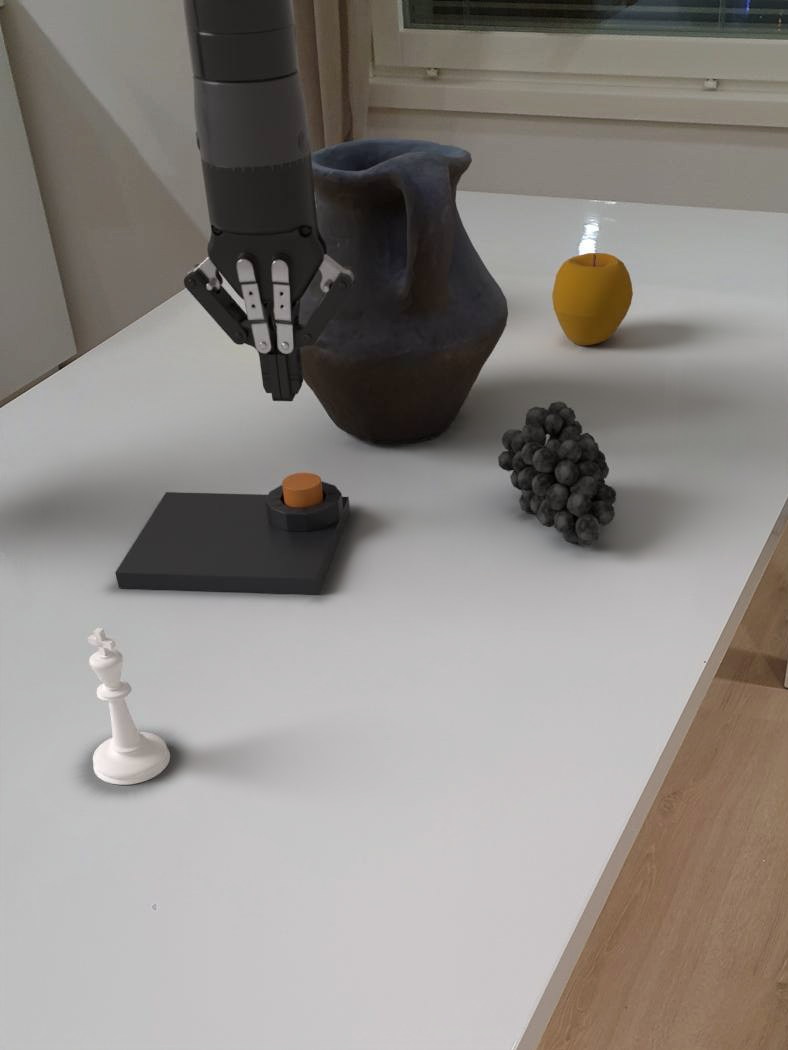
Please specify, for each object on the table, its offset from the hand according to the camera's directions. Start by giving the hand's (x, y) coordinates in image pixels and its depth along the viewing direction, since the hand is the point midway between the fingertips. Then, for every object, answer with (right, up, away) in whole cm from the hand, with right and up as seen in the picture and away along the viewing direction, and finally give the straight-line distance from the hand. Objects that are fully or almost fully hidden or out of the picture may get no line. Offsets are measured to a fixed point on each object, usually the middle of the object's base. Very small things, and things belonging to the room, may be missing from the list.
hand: (284, 397), depth 99 cm
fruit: (+22, -8, +9) cm, 25 cm away
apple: (+27, +20, +40) cm, 52 cm away
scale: (-5, -10, +6) cm, 13 cm away
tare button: (+1, -6, +7) cm, 9 cm away
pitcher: (+8, +6, +24) cm, 26 cm away
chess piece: (-8, -29, -15) cm, 34 cm away
